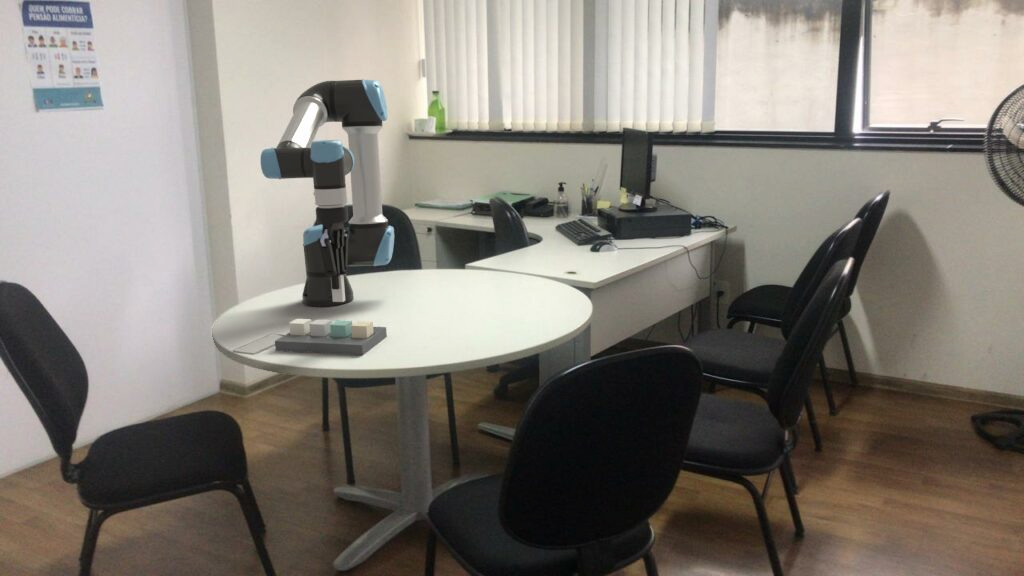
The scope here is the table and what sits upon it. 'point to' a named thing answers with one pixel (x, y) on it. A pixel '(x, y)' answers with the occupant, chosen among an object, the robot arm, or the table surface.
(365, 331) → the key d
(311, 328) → the key
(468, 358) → the table surface
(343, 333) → the key
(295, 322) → the key
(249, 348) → the smartphone
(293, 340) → the keypad
